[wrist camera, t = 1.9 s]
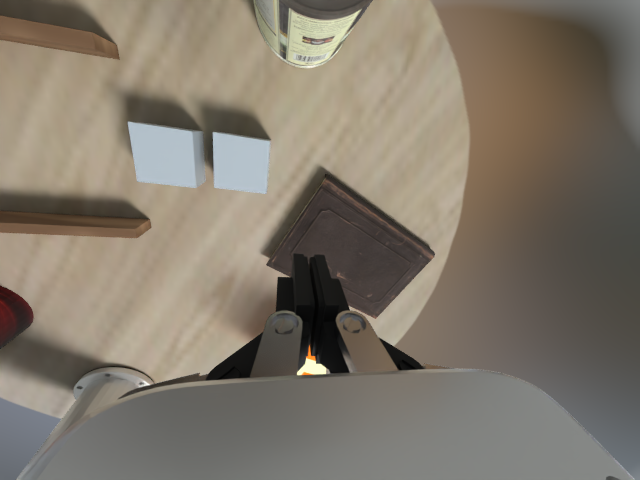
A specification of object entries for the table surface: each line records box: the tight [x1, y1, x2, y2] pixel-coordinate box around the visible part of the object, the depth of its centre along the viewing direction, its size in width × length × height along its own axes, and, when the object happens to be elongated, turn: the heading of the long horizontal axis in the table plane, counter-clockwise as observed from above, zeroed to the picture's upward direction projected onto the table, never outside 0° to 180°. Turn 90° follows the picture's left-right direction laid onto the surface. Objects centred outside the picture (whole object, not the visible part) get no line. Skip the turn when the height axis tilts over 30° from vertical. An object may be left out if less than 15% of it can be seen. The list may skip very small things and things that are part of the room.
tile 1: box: [213, 132, 271, 194], centre depth 29 cm, size 6×6×4 cm
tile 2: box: [128, 122, 205, 188], centre depth 27 cm, size 6×6×4 cm
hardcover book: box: [266, 174, 435, 319], centre depth 38 cm, size 16×23×2 cm
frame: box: [0, 16, 151, 238], centre depth 24 cm, size 20×21×4 cm
